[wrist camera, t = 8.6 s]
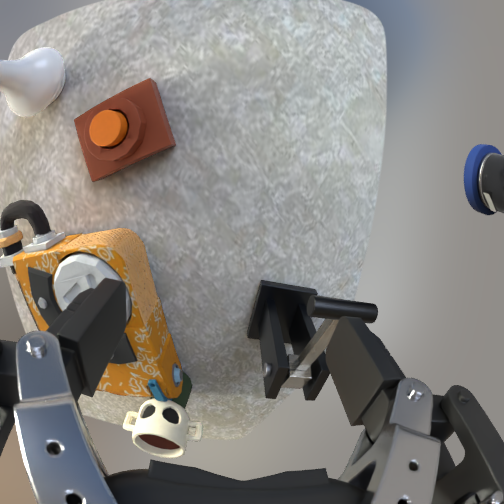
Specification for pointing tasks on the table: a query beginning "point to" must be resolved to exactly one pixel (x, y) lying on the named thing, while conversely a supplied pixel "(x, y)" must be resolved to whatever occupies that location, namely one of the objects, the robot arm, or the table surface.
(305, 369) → the lever
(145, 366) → the device
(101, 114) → the button
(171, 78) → the table surface
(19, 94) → the flower vase
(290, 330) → the bracket
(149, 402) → the character mug
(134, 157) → the block
